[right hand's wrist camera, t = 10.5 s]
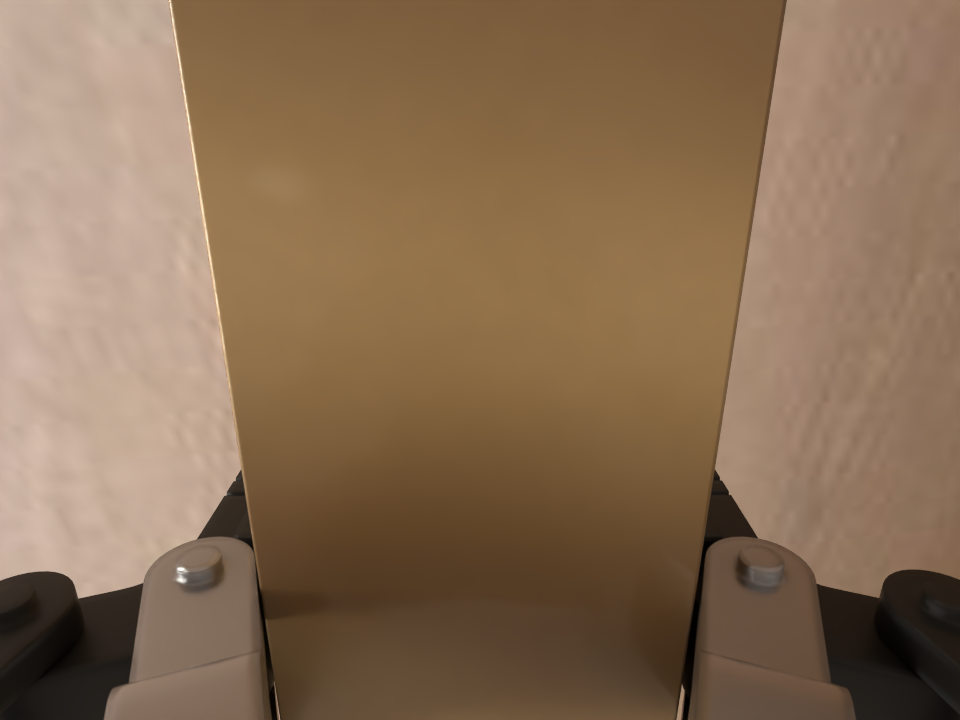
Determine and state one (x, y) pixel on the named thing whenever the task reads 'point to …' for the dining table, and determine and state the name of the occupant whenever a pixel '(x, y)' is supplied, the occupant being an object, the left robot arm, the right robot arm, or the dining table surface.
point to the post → (477, 333)
